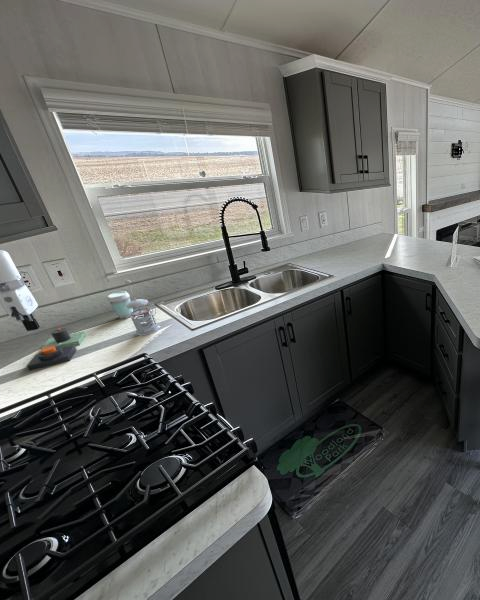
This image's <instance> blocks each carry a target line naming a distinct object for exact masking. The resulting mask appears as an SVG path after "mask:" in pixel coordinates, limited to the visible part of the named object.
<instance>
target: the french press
mask: <svg viewBox="0 0 480 600" xmlns="http://www.w3.org/2000/svg"><path fill="white" fill-rule="evenodd" d="M131 282H132V281H131V280H130V279H126V280H125V281H124V283H125V284H128V286H129V289H130V291H131V293H132V296H133V298H134V300H130V301H131V302H129V303H128V304H127V305H126V307H127V308H129V309H130V308H132V309H135V310H133V312H132V313H131V315H132V316H131V317H130V318H131V320H132V324H133V325H134V328H135V330H136V331H135V333H134V335H135V334H136V335H135V336H137V335H139V336H138V337H142V336H141V335H144V336H148V334H149V335H151V333H152V334H154V333H156V332H158V331H159V330H160V329H161V328H160V327H161V326H160V325H159V324H158V323H157V320H156V319H155V316H156V313H157V308H156V306H155V304H154V303H153V302H150V301H149V300H148V299H142V298H139V299H136V297H135V295H134V292H133V290H132V288H131V284H130V283H131ZM144 306H146V307H144ZM147 306H148V307H149V306H150V307H151V309H150V308H148V307H147ZM141 307H143V308H141ZM151 310H152V311H151ZM154 310H155V312H154ZM153 313H154V314H153ZM159 328H160V329H159ZM158 329H159V330H158ZM157 330H158V331H157ZM155 331H156V332H155Z"/></svg>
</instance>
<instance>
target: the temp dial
mask: <svg viewBox="0 0 480 600" xmlns="http://www.w3.org/2000/svg"><path fill="white" fill-rule="evenodd" d="M69 334H70V333H69V331H68V328H67V327H58V328H56V329H54V330H52V331H50V335H51V337H52V338H54V340H55V341H56V342H57V343H59V342H64V341H67V340H69V339H70V338H71V337H70V335H69Z"/></svg>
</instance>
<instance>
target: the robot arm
mask: <svg viewBox="0 0 480 600" xmlns="http://www.w3.org/2000/svg"><path fill="white" fill-rule="evenodd" d="M0 301H1V303H2V305H3V307H4V309H5V311H6V313H7V314H8V316H9V317H10V318H13V319H15V321H16V322H20V323H22V325H23V327H24V328H25V330H26V331H27V332H30V331H36V330H38V329H40V328H41V326H40V324H39V322H38V321H37V319H36V316H35V314H34V311H35V310H36V309H37V308H38V307H39V304H38V302H37V300H36V299H35V297H34V295H33V294H32V292H31V291H30V290H29V288H28V287H27V285H26V283H25V281H24V279H23V278H22V276H21V274H20V272H19V270H18V268H17V266H16V265H15V262H14V261H13V259H12V257H11V255H10V253H8V252H7V251H6V250H3V249H0Z"/></svg>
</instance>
